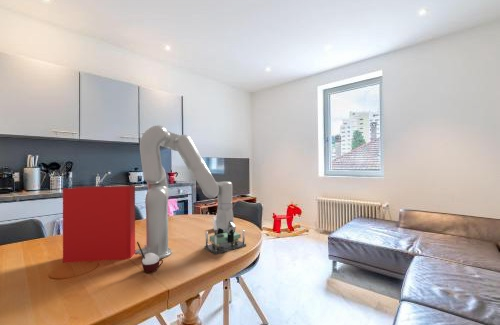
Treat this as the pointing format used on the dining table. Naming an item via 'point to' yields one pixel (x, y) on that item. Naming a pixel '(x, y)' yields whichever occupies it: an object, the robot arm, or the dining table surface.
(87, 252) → the book
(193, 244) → the dining table surface
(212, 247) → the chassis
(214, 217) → the bracket
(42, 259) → the dining table surface
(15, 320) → the dining table surface
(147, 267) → the cocoa
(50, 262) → the dining table surface
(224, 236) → the board
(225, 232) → the block
